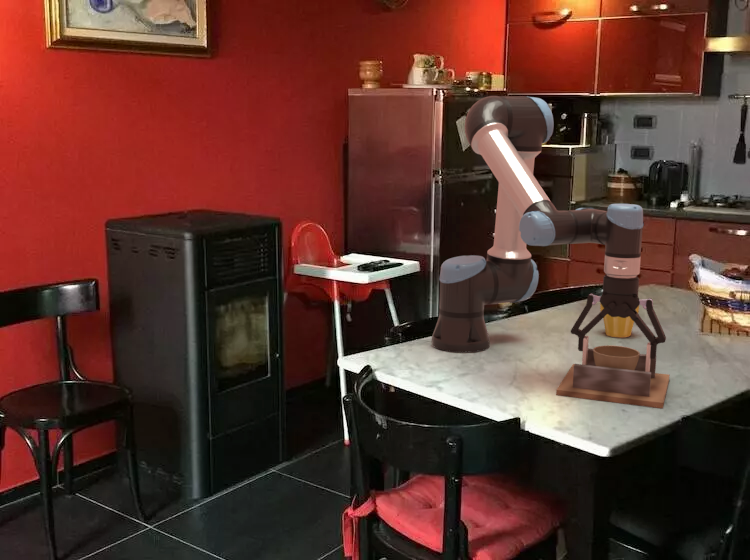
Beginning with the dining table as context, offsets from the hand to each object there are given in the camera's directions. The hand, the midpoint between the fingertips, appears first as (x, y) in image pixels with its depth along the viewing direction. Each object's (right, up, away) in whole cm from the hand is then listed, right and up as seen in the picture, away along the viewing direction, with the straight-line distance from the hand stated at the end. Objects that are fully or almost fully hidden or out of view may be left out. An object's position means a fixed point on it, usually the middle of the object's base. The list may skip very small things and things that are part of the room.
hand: (615, 368), depth 191 cm
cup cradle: (0, -4, +1) cm, 4 cm away
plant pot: (+14, +4, +48) cm, 50 cm away
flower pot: (0, -3, +1) cm, 3 cm away
